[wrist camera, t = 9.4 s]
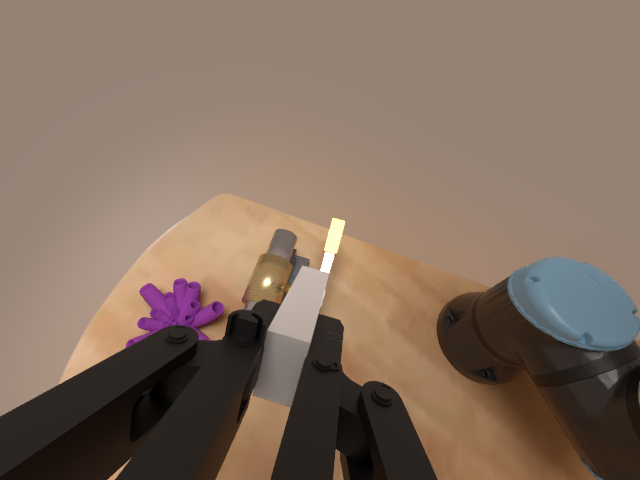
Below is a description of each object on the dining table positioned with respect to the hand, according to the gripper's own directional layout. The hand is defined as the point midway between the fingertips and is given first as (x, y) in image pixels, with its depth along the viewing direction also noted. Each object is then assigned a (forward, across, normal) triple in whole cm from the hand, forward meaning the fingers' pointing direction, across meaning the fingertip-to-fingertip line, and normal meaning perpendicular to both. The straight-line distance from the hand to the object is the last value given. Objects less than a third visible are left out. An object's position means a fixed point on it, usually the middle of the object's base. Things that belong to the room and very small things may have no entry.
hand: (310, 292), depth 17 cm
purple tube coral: (+28, -20, -26) cm, 43 cm away
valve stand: (+34, -6, -20) cm, 40 cm away
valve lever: (+28, 0, -15) cm, 32 cm away
